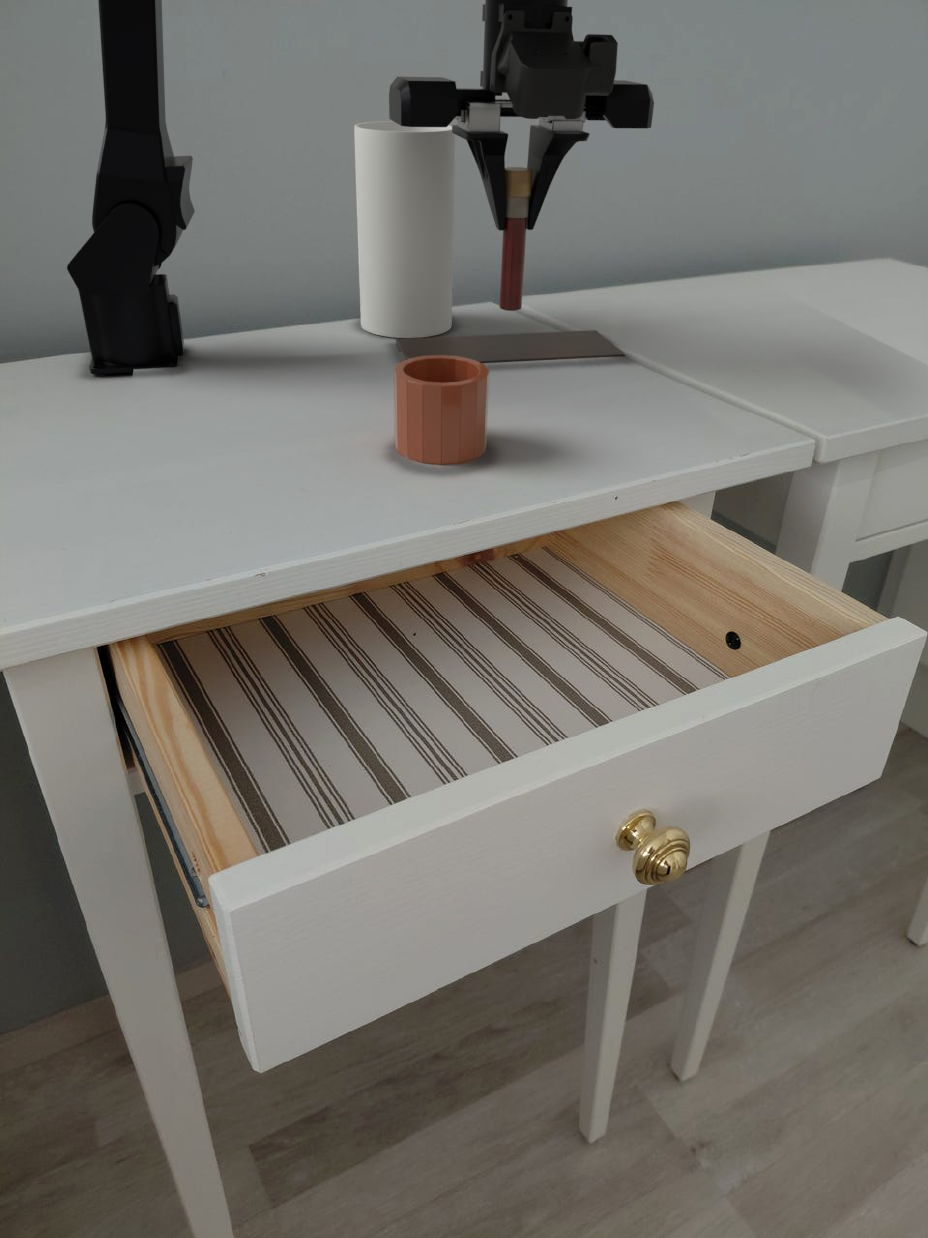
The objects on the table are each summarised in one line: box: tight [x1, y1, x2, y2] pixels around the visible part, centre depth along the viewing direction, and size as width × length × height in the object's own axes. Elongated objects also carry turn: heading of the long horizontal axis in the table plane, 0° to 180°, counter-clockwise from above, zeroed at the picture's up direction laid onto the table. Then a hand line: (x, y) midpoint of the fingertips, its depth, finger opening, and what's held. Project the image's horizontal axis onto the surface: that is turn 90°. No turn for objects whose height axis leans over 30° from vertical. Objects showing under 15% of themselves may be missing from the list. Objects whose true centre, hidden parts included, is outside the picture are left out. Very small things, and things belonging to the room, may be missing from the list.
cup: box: [353, 120, 456, 339], centre depth 80 cm, size 8×8×16 cm
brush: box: [499, 166, 532, 312], centre depth 73 cm, size 2×2×10 cm
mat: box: [395, 329, 626, 364], centre depth 78 cm, size 18×7×1 cm, turn 103°
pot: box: [393, 355, 490, 466], centre depth 59 cm, size 6×6×6 cm
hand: (514, 229), depth 72 cm, fingers closed on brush, 2 cm apart
